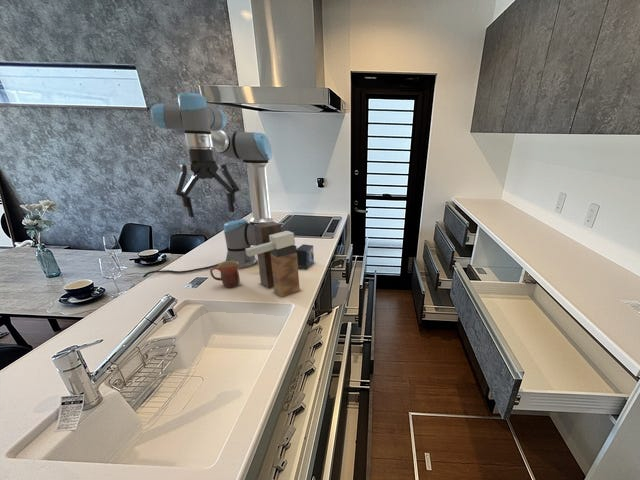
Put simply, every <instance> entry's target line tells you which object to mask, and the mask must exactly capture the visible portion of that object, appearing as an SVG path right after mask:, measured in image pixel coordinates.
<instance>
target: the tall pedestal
mask: <svg viewBox="0 0 640 480" xmlns="http://www.w3.org/2000/svg"><path fill="white" fill-rule="evenodd" d="M254 232H255V240H256V246H257V245H261V244H264V243H268V242H270V239H269V235H272V234H276V233H280V232H282V225H281V224H280V223H278V222H275V221H274V222H267V223H260V224H254ZM256 256H257V262H258V270H259V277H260V278H259V279H260V284H261V285H262V286H264V287H266V288H267V289H271V288H274V282H273V273H272V264H271V255H270V251H267V252H264V253H260V254H257V255H256Z"/></svg>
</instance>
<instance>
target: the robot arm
mask: <svg viewBox="0 0 640 480" xmlns="http://www.w3.org/2000/svg"><path fill="white" fill-rule="evenodd" d="M177 100H178V104H176V103H175V104H174V103H156V104H154V105H152V107H151V110H150V111H151V119H152V120H153V122H154V124H155V125H156V127H158V128H159V129H165V130H174V131H176V132H179V133H181V134H182V135H184V137H185V143H186V146H187V148H189V149H188V151H187V152H188V158H189V162H190V164H189V165H185V164H180V165H179V175H178V179H177V182H176V184H175V187H174V191H173V194H174V195H176V196H177V197H181V200H182V201H181V202H182V205H183V207H185V208H187V213H188V216H189V217H190V218H194V217H195V214H194V210H193V205H192V201H191V197H190V196H188V195H189V194H190V192H192V190H193V188H194V187H195V185H196V183H197V182H198V181H199V180H206V179H208V180H209V179H210V180H211V179H214V180H216V182H218V184H220V185H221V186H222V187H223V188H224V190H226V191H227V193H226V198H227V204H228V211H229V212H230V213H235V206H234V203H236V196H235V194H236V192H240V188H239V186H238V185H237V183H236V182H235V180H234V179H233V177H232V175H231V174H230V172H229V170H228V167H227V164H225V163H220V164H217V162H216V161H217V160H216V156H215V155H216V154H220V155H222V156H225V157H227V158H230V159H237V160H242V164H243V165H244V166H245V167H246V172H247V180H248V181H247V182H248V189H249V197H250V206H251V215H252V216H251V218H250V219H249V221H248V220H247V219H244V218H242V219H241V218H240V219H234V220H230V221H227V222H225V223H224V224H223V233H224V238H225V244H226V250H227V251H226V257H225V261H224V262H226V261H237V262H238V263H239V266H238V269H245V268H249V267H252V266H254V265H256V263H257V258H256V255H253V256H250V257H249V256H247V255H246V250H245V249H246V248H250V247H253V246H256V240H255V232H254V224H260V223H267V222H275V219H274V218H273V217H272V216H271V210H270V208H271V207H270V197H269V189H268V188H269V187H268V179H267V178H268V177H267V167H268V165H269V161H270V160H272V157H273V151H272V146H271V143H270V140H269V138H268V136H267V134H265V133H263V132H256V131H254V132H251V131H250V132H247V131H225V130H224V131H223V129H224V128H225V127H226V126H227V117H226V114H225V113H224V112H223V110H222V109H220V108H219V107H217V106H215V105H210V104H209V105H208V103H207V100H206V97H205V96H204V95H203V94H201V93H194V92H180V93H179V94H178V95H177ZM215 153H216V154H215ZM218 170H219V171H220V172H221V173H222V174H223V176H224V177H225V179H226V181H227V182H228V183H227V182H226V181H225V180H224V179H223V178H222V177H221V176H220V174H218V173H217V172H218ZM190 171H191V172H192V175H191V176H190V179H189V180H188V181H187V183H186V185H185V181H186V178H187V175H188V173H189V172H190ZM184 185H185V186H184ZM218 264H219V263H216V264H213V265H209V266H203V267H198V268H193V269H188V270H171V269H164V270H152V271H148V272H146V273H145V274H144V275H143V276H142V278H146V277H147V276H149V275H150V274H157V273H173V274H184V273H185V274H186V273H190V272H197V271H202V270H208V269H211V268H213V267H218V266H217V265H218Z"/></svg>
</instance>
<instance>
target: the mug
mask: <svg viewBox="0 0 640 480" xmlns="http://www.w3.org/2000/svg"><path fill="white" fill-rule="evenodd" d="M225 261H226V260H225ZM225 261H222V262H219V263H217V264H218V265H217V266H215V267H212V268H210V270H209V273H210V276H211V278H212V279H214V280H216V281H220V282H221V283H222V285H223V287H224V288H228V289H231V288H235V287H237V286H239V285H240V284H241V281H240V280H241V278H240V273H239V268H238V266H239V263H238V262H237V261H226V262H225ZM214 270H217V271H219V273H220V277H216V276H215V275H214V272H213V271H214Z"/></svg>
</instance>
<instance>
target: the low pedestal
mask: <svg viewBox="0 0 640 480" xmlns="http://www.w3.org/2000/svg"><path fill="white" fill-rule="evenodd" d="M270 255H271V264H272V273H273V282H274V287H273V289H274V293H275V294H276V295H278V296H279V297H281V298H282V297H286V296H289V295H291V294H295V293H298V292H300V291H301V289H300V277H299V276H300V275H299V269H298V261H297V253H293V254H289V255H285V256H281V257H276V256H274V255H272V254H270Z"/></svg>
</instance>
